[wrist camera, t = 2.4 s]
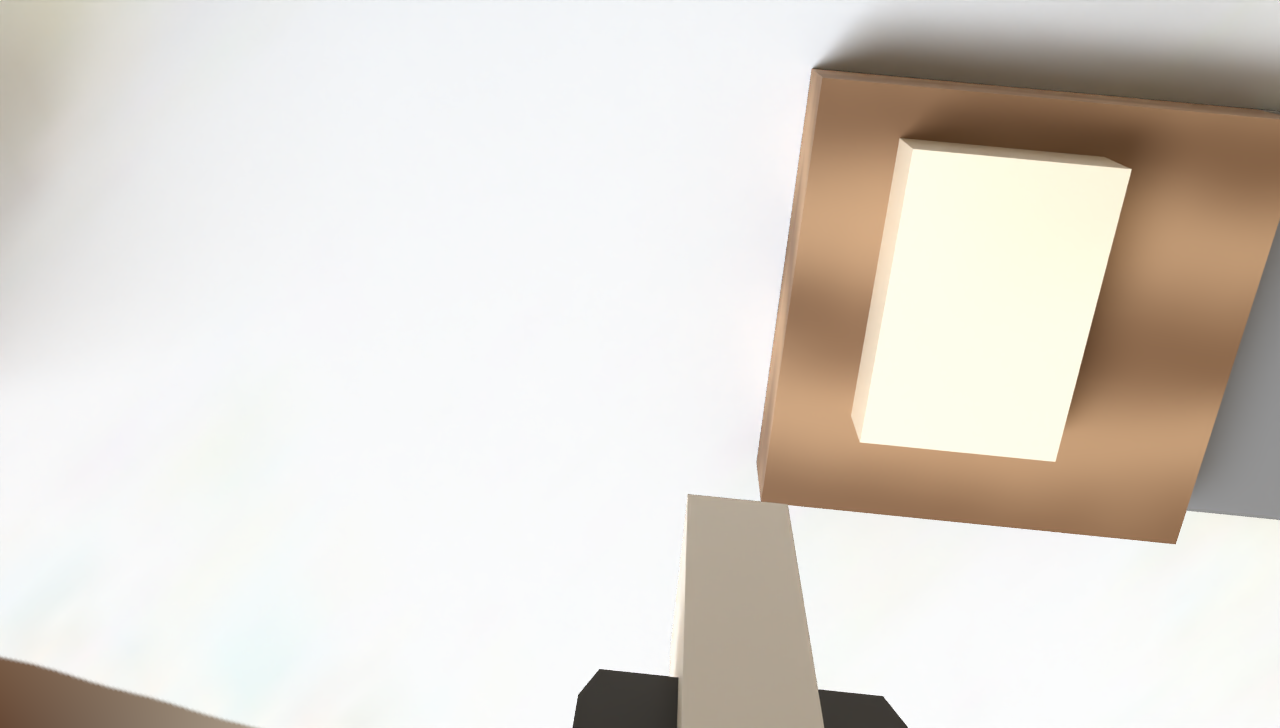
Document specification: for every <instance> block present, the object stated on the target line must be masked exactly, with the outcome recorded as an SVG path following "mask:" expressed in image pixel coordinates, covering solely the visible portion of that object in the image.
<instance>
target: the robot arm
mask: <svg viewBox="0 0 1280 728" xmlns="http://www.w3.org/2000/svg"><path fill="white" fill-rule="evenodd" d="M573 728H908V727H907V726H906V724H905V723H904V722H903V721H902V719H901V718H900V717H899V716H898V714H897V713H896V712H895V711H894V709H893V708H892V707H891V706H890V705H889V703H888V702H887V701H886V700H885V698H884V697H883V696H875V695H866V694H856V693H847V692H837V691H828V690H818V687H817V680H816V674H815V668H814V662H813V656H812V650H811V644H810V638H809V631H808V625H807V619H806V613H805V607H804V601H803V595H802V589H801V583H800V576H799V570H798V564H797V558H796V552H795V546H794V540H793V534H792V528H791V521H790V515H789V509H788V504H780V503H770V502H760V501H751V500H741V499H731V498H721V497H711V496H701V495H691V494H688V496H687V505H686V514H685V522H684V531H683V540H682V549H681V557H680V566H679V575H678V584H677V593H676V601H675V610H674V619H673V628H672V637H671V647H670V669H669V676H660V675H650V674H641V673H631V672H622V671H612V670H603V669H599V670H598V672H597V673H596V674H595V675H594V676H593V678H592V679H591V680H590V681H589V682H588V684H587V685H586V686H585V687H584V689H583V690H582V691H581V692H580V693H579V695H578V699H577V705H576V711H575V717H574V723H573Z"/></svg>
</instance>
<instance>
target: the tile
mask: <svg viewBox="0 0 1280 728" xmlns="http://www.w3.org/2000/svg"><path fill="white" fill-rule="evenodd" d="M1131 170H1132V169H1130V168H1128V167H1126V166H1123V165H1121V164H1119V163H1117V162H1115V161H1112V160H1110V159H1108V158H1106V157H1099V156H1089V155H1078V154H1067V153H1056V152H1045V151H1035V150H1024V149H1013V148H1002V147H992V146H981V145H970V144H959V143H948V142H938V141H927V140H916V139H905V138H900V139H899V144H898V150H897V156H896V162H895V167H894V173H893V179H892V184H891V190H890V196H889V202H888V207H887V213H886V219H885V224H884V230H883V236H882V242H881V247H880V253H879V259H878V264H877V270H876V276H875V281H874V287H873V293H872V299H871V304H870V310H869V316H868V321H867V327H866V333H865V339H864V344H863V350H862V356H861V361H860V367H859V373H858V379H857V384H856V390H855V396H854V401H853V407H852V413H851V418H852V420H853V423H854V426H855V429H856V432H857V435H858V438H859V441H860V442H861V443H871V444H881V445H891V446H901V447H911V448H921V449H931V450H941V451H951V452H961V453H972V454H982V455H992V456H1002V457H1012V458H1022V459H1032V460H1042V461H1052V462H1055V461H1056V457H1057V454H1058V450H1059V446H1060V442H1061V438H1062V434H1063V431H1064V427H1065V423H1066V419H1067V415H1068V411H1069V408H1070V404H1071V400H1072V396H1073V392H1074V388H1075V385H1076V381H1077V377H1078V373H1079V369H1080V365H1081V362H1082V358H1083V354H1084V350H1085V346H1086V342H1087V339H1088V335H1089V331H1090V327H1091V323H1092V319H1093V316H1094V312H1095V308H1096V304H1097V300H1098V296H1099V293H1100V289H1101V285H1102V281H1103V277H1104V274H1105V270H1106V266H1107V262H1108V258H1109V254H1110V251H1111V247H1112V243H1113V239H1114V235H1115V231H1116V228H1117V224H1118V220H1119V216H1120V212H1121V208H1122V205H1123V201H1124V197H1125V193H1126V189H1127V185H1128V182H1129V178H1130V174H1131Z"/></svg>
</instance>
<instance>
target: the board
mask: <svg viewBox="0 0 1280 728" xmlns="http://www.w3.org/2000/svg"><path fill="white" fill-rule="evenodd" d="M900 138H905V139H916V140H927V141H938V142H948V143H959V144H970V145H981V146H992V147H1002V148H1013V149H1024V150H1035V151H1045V152H1056V153H1067V154H1078V155H1089V156H1099V157H1106V158H1108V159H1110V160H1112V161H1115V162H1117V163H1119V164H1121V165H1123V166H1126V167H1128V168H1130V169H1132V170H1131V174H1130V178H1129V182H1128V185H1127V189H1126V193H1125V197H1124V201H1123V205H1122V208H1121V212H1120V216H1119V220H1118V224H1117V228H1116V231H1115V235H1114V239H1113V243H1112V247H1111V251H1110V254H1109V258H1108V262H1107V266H1106V270H1105V274H1104V277H1103V281H1102V285H1101V289H1100V293H1099V296H1098V300H1097V304H1096V308H1095V312H1094V316H1093V319H1092V323H1091V327H1090V331H1089V335H1088V339H1087V342H1086V346H1085V350H1084V354H1083V358H1082V362H1081V365H1080V369H1079V373H1078V377H1077V381H1076V385H1075V388H1074V392H1073V396H1072V400H1071V404H1070V408H1069V411H1068V415H1067V419H1066V423H1065V427H1064V431H1063V434H1062V438H1061V442H1060V446H1059V450H1058V454H1057V457H1056V461H1055V462H1052V461H1042V460H1032V459H1022V458H1012V457H1002V456H992V455H982V454H972V453H961V452H951V451H941V450H931V449H921V448H911V447H901V446H891V445H881V444H871V443H861V442H860V441H859V438H858V435H857V432H856V429H855V426H854V423H853V420H852V418H851V413H852V407H853V401H854V396H855V390H856V384H857V379H858V373H859V367H860V361H861V356H862V350H863V344H864V339H865V333H866V327H867V321H868V316H869V310H870V304H871V299H872V293H873V287H874V281H875V276H876V270H877V264H878V259H879V253H880V247H881V242H882V236H883V230H884V224H885V219H886V213H887V207H888V202H889V196H890V190H891V184H892V179H893V173H894V167H895V162H896V156H897V150H898V144H899V139H900ZM1279 220H1280V115H1278V114H1274V113H1270V112H1266V111H1262V110H1258V109H1248V108H1237V107H1226V106H1215V105H1204V104H1193V103H1182V102H1172V101H1161V100H1150V99H1139V98H1128V97H1117V96H1106V95H1095V94H1084V93H1073V92H1062V91H1051V90H1040V89H1029V88H1018V87H1007V86H997V85H986V84H975V83H964V82H953V81H942V80H931V79H920V78H909V77H898V76H887V75H876V74H865V73H854V72H843V71H832V70H821V69H812V71H811V78H810V85H809V92H808V99H807V106H806V113H805V120H804V128H803V135H802V142H801V149H800V156H799V163H798V170H797V177H796V185H795V192H794V199H793V206H792V213H791V220H790V227H789V235H788V242H787V249H786V256H785V263H784V270H783V277H782V284H781V292H780V299H779V306H778V313H777V320H776V327H775V334H774V341H773V349H772V356H771V363H770V370H769V377H768V384H767V391H766V399H765V406H764V413H763V420H762V427H761V434H760V441H759V448H758V456H757V471H758V480H759V488H760V497H761V502H770V503H780V504H788V505H794V506H804V507H813V508H823V509H833V510H843V511H853V512H863V513H873V514H883V515H893V516H902V517H912V518H922V519H932V520H942V521H952V522H962V523H972V524H981V525H991V526H1001V527H1011V528H1021V529H1031V530H1041V531H1051V532H1061V533H1070V534H1080V535H1090V536H1100V537H1110V538H1120V539H1130V540H1140V541H1150V542H1159V543H1169V544H1176V541H1177V538H1178V535H1179V532H1180V529H1181V526H1182V523H1183V520H1184V516H1185V513H1186V510H1187V507H1188V504H1189V501H1190V498H1191V495H1192V491H1193V488H1194V485H1195V482H1196V479H1197V476H1198V473H1199V470H1200V466H1201V463H1202V460H1203V457H1204V454H1205V451H1206V448H1207V445H1208V442H1209V438H1210V435H1211V432H1212V429H1213V426H1214V423H1215V420H1216V417H1217V413H1218V410H1219V407H1220V404H1221V401H1222V398H1223V395H1224V392H1225V388H1226V385H1227V382H1228V379H1229V376H1230V373H1231V370H1232V367H1233V363H1234V360H1235V357H1236V354H1237V351H1238V348H1239V345H1240V342H1241V339H1242V335H1243V332H1244V329H1245V326H1246V323H1247V320H1248V317H1249V314H1250V310H1251V307H1252V304H1253V301H1254V298H1255V295H1256V292H1257V289H1258V285H1259V282H1260V279H1261V276H1262V273H1263V270H1264V267H1265V264H1266V261H1267V257H1268V254H1269V251H1270V248H1271V245H1272V242H1273V239H1274V236H1275V232H1276V229H1277V226H1278V223H1279Z"/></svg>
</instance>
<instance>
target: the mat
mask: <svg viewBox="0 0 1280 728" xmlns="http://www.w3.org/2000/svg"><path fill="white" fill-rule="evenodd" d="M1258 110H1259V109H1258ZM1262 111H1266V112H1270V113H1274V114H1278V115H1280V111H1270V110H1262ZM1187 511H1197V512H1207V513H1217V514H1227V515H1237V516H1247V517H1257V518H1266V519H1276V520H1280V220H1279V223H1278V226H1277V229H1276V232H1275V236H1274V239H1273V242H1272V245H1271V248H1270V251H1269V254H1268V257H1267V261H1266V264H1265V267H1264V270H1263V273H1262V276H1261V279H1260V282H1259V285H1258V289H1257V292H1256V295H1255V298H1254V301H1253V304H1252V307H1251V310H1250V314H1249V317H1248V320H1247V323H1246V326H1245V329H1244V332H1243V335H1242V339H1241V342H1240V345H1239V348H1238V351H1237V354H1236V357H1235V360H1234V363H1233V367H1232V370H1231V373H1230V376H1229V379H1228V382H1227V385H1226V388H1225V392H1224V395H1223V398H1222V401H1221V404H1220V407H1219V410H1218V413H1217V417H1216V420H1215V423H1214V426H1213V429H1212V432H1211V435H1210V438H1209V442H1208V445H1207V448H1206V451H1205V454H1204V457H1203V460H1202V463H1201V466H1200V470H1199V473H1198V476H1197V479H1196V482H1195V485H1194V488H1193V491H1192V495H1191V498H1190V501H1189V504H1188V507H1187Z"/></svg>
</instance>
